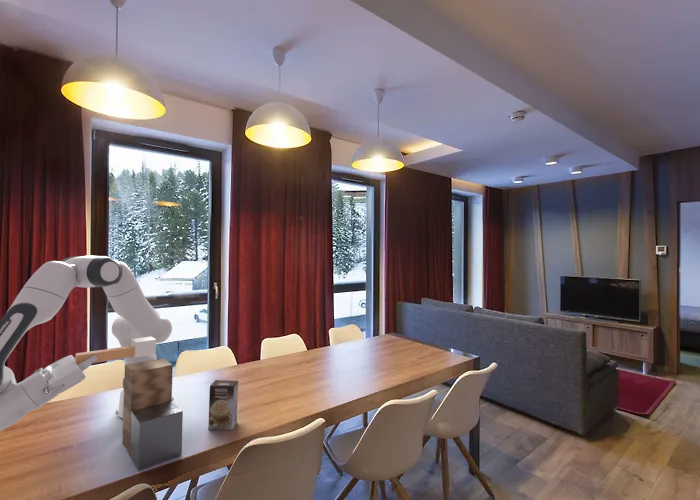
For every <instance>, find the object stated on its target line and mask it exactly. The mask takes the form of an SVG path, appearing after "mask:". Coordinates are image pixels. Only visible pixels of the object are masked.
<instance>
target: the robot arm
mask: <svg viewBox="0 0 700 500" xmlns="http://www.w3.org/2000/svg"><path fill="white" fill-rule="evenodd" d="M76 287H78V288H87V289H88V288H102V290H103V291H104V293H105V295H106V298H107V299H108V301H109V303H110V306H111V308H112V309H113V310H114V313H115V314H117V315H118V317H117V318H116V319H115V320H114V321H113V322H112V324H111V325H112V326H111V332H112V335H113V336H114V337H115V339H116V340H117V341H118V343H119V345H120V347H127V346H131V341H132V339H135V338H143V337H153V338H155V339H156V344H160V343H164V342H167V340H168V339H169V338H170V336H171V334H172V330H173V326H172V322H171V321H170V320H169V319H168V318H166V317H164V316H162V315H161V314H160V313H159V312H158V311H157V310H156V309H155V308H154V307H153V306H152V304H151V303H150V302H149V301H148V299H147V298H146V297H145V294H144V292H143V289H142V288H141V286H140V284H139V282H138V280H137V278H136V277H135V274H134V273H133V271H132V270H131V269H130V267H129V266H128V265H127V264H126V263H125V262H124V261H119V260H116V259H114V258H113V257H109V256H106V255H83V256H82V255H81V256H70V257H66V258H64V259H62V260H60V261H57V260H52V261H47V262H45V263H43V264H42V265H41V266H40V267H39V268H38V269H37V270H35V272H34V273H33V274H32V275H31V277H30V278H29V279H28V280H27V281H26V283H25V284H24V285H23V287H22V288H21V290H20V292H19V293H18V294H17V295H16V297H15V299H14V300H13V302H12V304H11V305H10V307H9V308H8V309H7V311H6V313H5V314H4V315H3V316H2V318H1V319H0V432H1V431H3V430H5V429H7V428H8V427H10V426H12V425H14V424H15V423H17V422H19V421H20V420H22V419H23V418H24V417H25V416H26V415H27V414H29V413H30V412H32V411H35V410H37V409H39V408H40V407H42V406H44V405H45V404H47V403H48V402H51V401H52V400H53V399H55V398H56V397H58V396H59V395H60V394H63V392H66V391H68V390H69V389H71V388H72V387H75V386H76V385H78V384H80V383H82V382H83V381H84V379H86V374H85V372H84V371H85V370H86V369H89V367H90V366H91V365H92V364H95V363H94V362H95V361H97V360H98V358H97V357H96V355H92V356H90V357H89V358H88V359H87V360H85V361H84V362H81V363H80V364H77V363H76V361H75V357H74V356H73V355H72V354H70V355H67V356H65V357H62V358H61V359H58V360H56V361H55V362H53V363H51V364H49V365H47V366H46V367H45V368H42V367H40V368H39V369H37V370H34V372H33V373H32V374H30V375H29V376H28V377H26V378H25V379H23V380H22V381H20V382H17V379H16V377H15V374H14V372H13V370H12V369H11V368H10V367H7V366H6V365H5V363H6V361H7V359H8V358H9V356H10V355H11V353H12V352H13V351H14V349H15V348H16V346H17V345H18V344H19V342H20V341H21V340H22V338H23V336H24V335H25V334H26V333H27V332H28V331H29V330H31V329H32V328H33V327H35V326H37V325H41V324H44V323H46V322H49V321H50V320H52V319H53V318H54V316H56V314H57V313H58V312H60V309H61V308H62V307H63V305H64V304H65V301H66V300H67V299H68V297H69V295H70V293H71V291H73V289H74V288H76ZM123 359H124V366H125V365H127V364H133V363H139V362H145V361H150V360H156V359H158V358H157V353H156V354H155V355H149V356H143V357H136V358H135V357H129V358H123ZM173 400H174V395H172V401H173ZM118 401H119V402H118V407H117V408H115V413H117V415H118V417H119V418H120V419H123V406H124V378H123V379H122V390H121V391H120V395H119V400H118Z"/></svg>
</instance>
